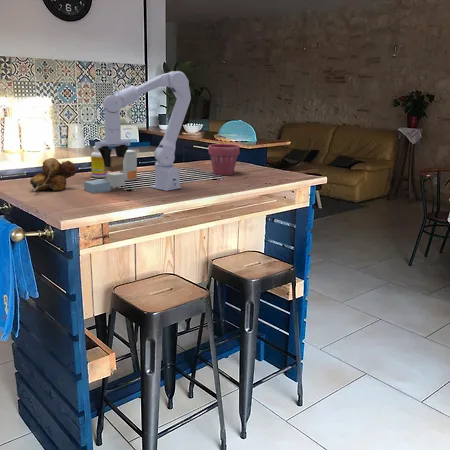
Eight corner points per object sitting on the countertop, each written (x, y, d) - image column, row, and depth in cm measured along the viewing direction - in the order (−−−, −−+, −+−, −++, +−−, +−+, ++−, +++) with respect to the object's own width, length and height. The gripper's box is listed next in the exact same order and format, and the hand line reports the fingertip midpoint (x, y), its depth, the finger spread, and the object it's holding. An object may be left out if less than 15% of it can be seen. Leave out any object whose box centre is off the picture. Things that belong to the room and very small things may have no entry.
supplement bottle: (105, 178, 211) (104, 147, 207) (90, 177, 211) (88, 147, 207) (109, 175, 217) (108, 145, 213) (94, 174, 217) (93, 145, 214)
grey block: (124, 186, 197) (124, 173, 195) (114, 188, 193) (114, 175, 192) (117, 184, 200) (116, 171, 198) (106, 186, 196) (106, 173, 195)
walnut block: (123, 170, 188) (122, 157, 187) (112, 172, 185) (112, 158, 183) (114, 168, 191) (114, 155, 190) (104, 170, 188) (103, 156, 186)
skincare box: (126, 181, 206) (125, 152, 203) (119, 179, 208) (118, 150, 205) (137, 179, 211) (137, 150, 207) (130, 177, 213) (129, 149, 210)
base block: (110, 191, 188) (110, 182, 187) (94, 194, 183) (93, 184, 182) (100, 188, 193) (100, 179, 192) (84, 190, 188) (83, 181, 187)
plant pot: (203, 171, 232) (203, 143, 229) (230, 170, 238) (231, 143, 235) (215, 177, 220) (216, 148, 216) (244, 175, 226) (245, 147, 222)
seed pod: (83, 173, 184) (70, 155, 193) (40, 168, 173) (28, 149, 183) (74, 204, 188) (61, 185, 198) (31, 200, 178) (20, 180, 188)
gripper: (121, 127, 191) (122, 162, 195) (89, 129, 181) (90, 166, 185) (133, 128, 187) (134, 165, 191) (101, 130, 176) (102, 169, 180)
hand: (113, 165), depth 187 cm, fingers closed on walnut block, 5 cm apart
